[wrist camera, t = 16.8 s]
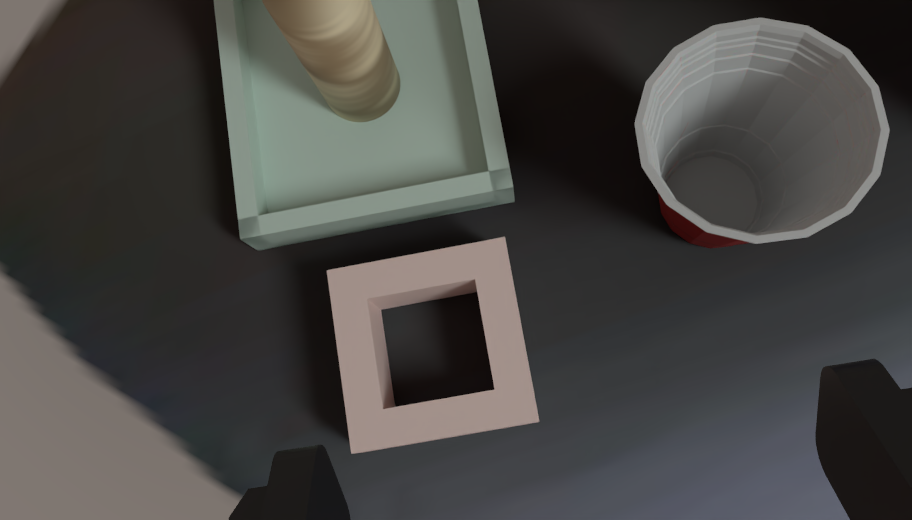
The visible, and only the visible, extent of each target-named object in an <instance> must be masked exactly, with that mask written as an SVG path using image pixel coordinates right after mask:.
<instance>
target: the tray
mask: <svg viewBox="0 0 912 520" xmlns="http://www.w3.org/2000/svg"><path fill="white" fill-rule="evenodd" d="M370 1H371V3H372V6H373V8H374V11H375V13H376V16H377V18H378V21H379V24H380V26H381V29H382V31H383V34H384V36H385V39H386V42H387V44H388V47H389V49H390V52H391V54H392V57H393V59H394V62H395V65H396V67H397V70H398V72H399V76H400V92H399V95H398V98H397V100H396V102H395V103H394V105H393V106H392V107H391V109H390V110H389V111H388V112H387V113H385V114H384V115H382V116H381V117H379V118H377V119H375V120H372V121H368V122H352V121H348V120H345V119H343V118H341V117H340V116H338V115H337V114H336V113H335V112H334V111H332V109H331V108H330V107H329V105H328V103H327V102H326V100H325V99H324V97H323V96H322V94H321V93H320V91H319V89H318V88H317V86H316V85H315V83H314V82H313V80H312V79H311V77H310V76H309V74H308V72H307V71H306V69H305V68H304V66H303V65H302V63H301V62H300V60H299V58H298V57H297V55H296V54H295V52H294V51H293V49H292V48H291V46H290V44H289V43H288V41H287V40H286V38H285V37H284V35H283V34H282V32H281V31H280V29H279V27H278V26H277V24H276V23H275V21H274V20H273V18H272V17H271V15H270V13H269V12H268V10H267V9H266V7H265V5H264V4H263V2H262V0H214V8H215V17H216V26H217V35H218V44H219V53H220V62H221V71H222V80H223V90H224V99H225V108H226V117H227V126H228V135H229V144H230V153H231V162H232V171H233V180H234V189H235V198H236V207H237V216H238V225H239V234H240V240H242V241H244V242H245V243H247V244H248V245H250V246H251V247H253V248H254V249H256V250H264V249H269V248H274V247H279V246H285V245H290V244H295V243H300V242H306V241H311V240H316V239H322V238H327V237H332V236H337V235H343V234H348V233H353V232H358V231H364V230H369V229H374V228H380V227H385V226H390V225H395V224H401V223H406V222H411V221H416V220H422V219H427V218H432V217H438V216H443V215H448V214H453V213H459V212H464V211H469V210H474V209H480V208H485V207H490V206H495V205H501V204H506V203H511V202H515V198H514V188H513V182H512V177H511V172H510V167H509V162H508V156H507V151H506V146H505V141H504V136H503V130H502V125H501V120H500V115H499V110H498V104H497V99H496V94H495V89H494V84H493V78H492V73H491V68H490V63H489V58H488V52H487V47H486V42H485V37H484V32H483V27H482V21H481V16H480V11H479V6H478V1H477V0H370Z"/></svg>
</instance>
